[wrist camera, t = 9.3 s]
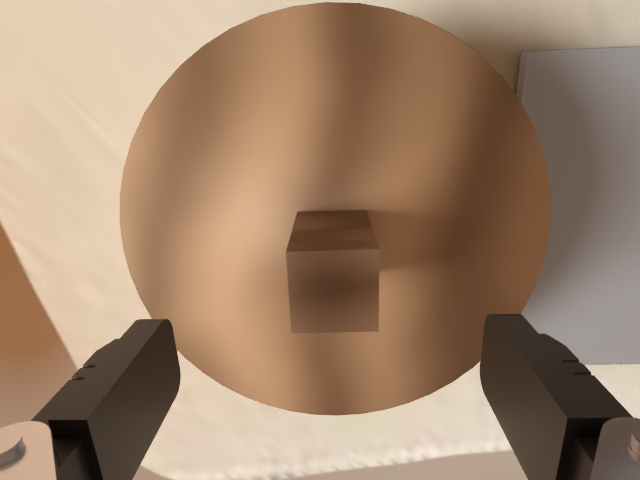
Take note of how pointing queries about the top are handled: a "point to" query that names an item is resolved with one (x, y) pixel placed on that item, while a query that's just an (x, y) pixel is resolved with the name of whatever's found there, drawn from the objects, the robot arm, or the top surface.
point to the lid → (334, 207)
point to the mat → (588, 198)
